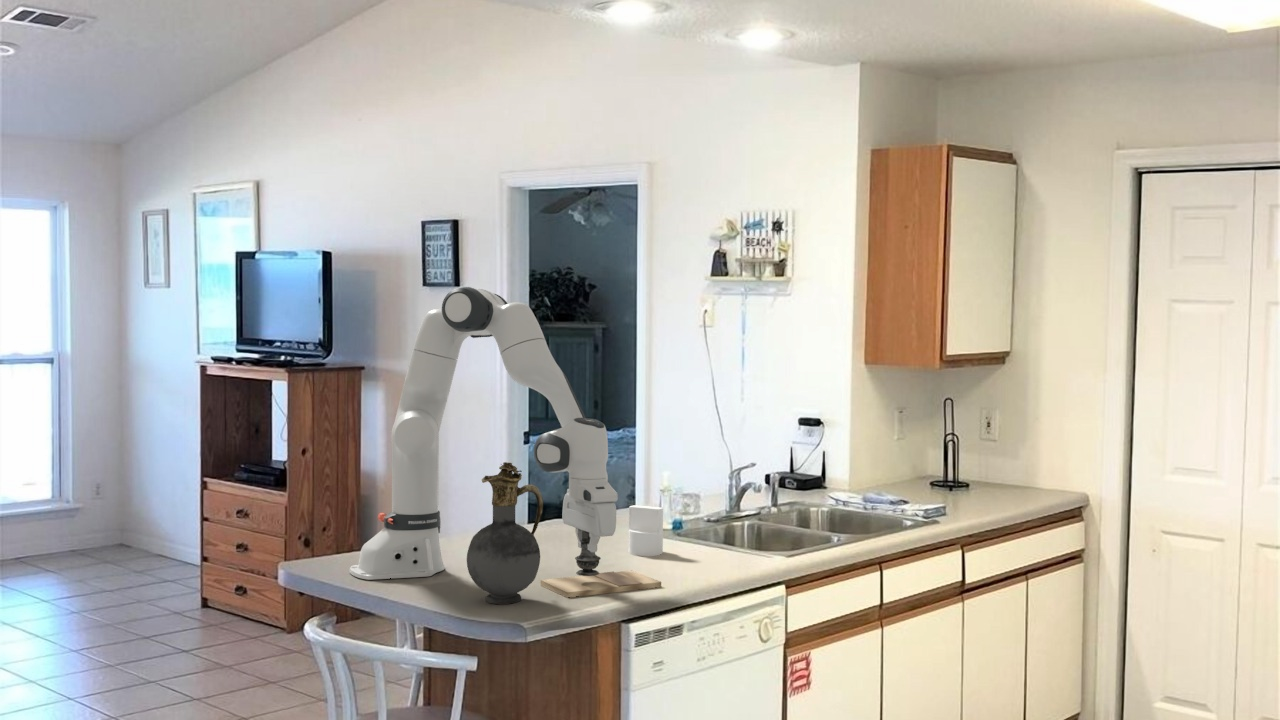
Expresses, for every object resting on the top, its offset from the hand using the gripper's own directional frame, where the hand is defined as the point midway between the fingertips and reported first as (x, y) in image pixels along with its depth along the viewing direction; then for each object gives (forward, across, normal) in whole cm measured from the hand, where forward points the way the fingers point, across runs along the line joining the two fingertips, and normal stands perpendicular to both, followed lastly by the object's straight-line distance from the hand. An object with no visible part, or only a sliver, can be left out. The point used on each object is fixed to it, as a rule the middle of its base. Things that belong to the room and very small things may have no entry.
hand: (587, 549), depth 283 cm
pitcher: (+9, +2, -20) cm, 22 cm away
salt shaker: (+6, 0, 0) cm, 6 cm away
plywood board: (+9, 0, +4) cm, 9 cm away
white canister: (+9, -30, +32) cm, 45 cm away
